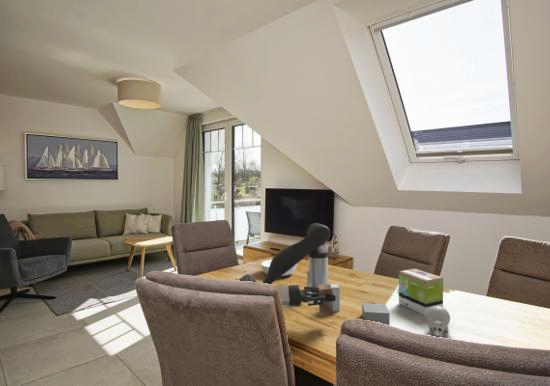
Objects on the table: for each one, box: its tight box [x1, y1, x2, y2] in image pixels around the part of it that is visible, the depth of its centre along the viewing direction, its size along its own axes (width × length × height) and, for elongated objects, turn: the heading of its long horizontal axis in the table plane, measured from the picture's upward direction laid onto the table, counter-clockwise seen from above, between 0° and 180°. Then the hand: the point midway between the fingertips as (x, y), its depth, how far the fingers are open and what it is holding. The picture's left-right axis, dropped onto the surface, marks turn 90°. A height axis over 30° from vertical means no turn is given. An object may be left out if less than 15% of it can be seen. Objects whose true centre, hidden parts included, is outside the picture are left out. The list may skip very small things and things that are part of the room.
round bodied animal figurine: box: [427, 306, 451, 338], centre depth 116 cm, size 7×12×8 cm, turn 148°
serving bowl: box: [260, 259, 298, 277], centre depth 191 cm, size 21×21×7 cm
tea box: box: [398, 268, 444, 317], centre depth 138 cm, size 15×10×15 cm, turn 23°
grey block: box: [361, 302, 391, 325], centre depth 127 cm, size 9×9×5 cm
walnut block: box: [318, 283, 334, 317], centre depth 120 cm, size 4×4×10 cm
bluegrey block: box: [329, 283, 341, 312], centre depth 138 cm, size 4×4×10 cm
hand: (333, 295), depth 120 cm, fingers closed on walnut block, 4 cm apart
